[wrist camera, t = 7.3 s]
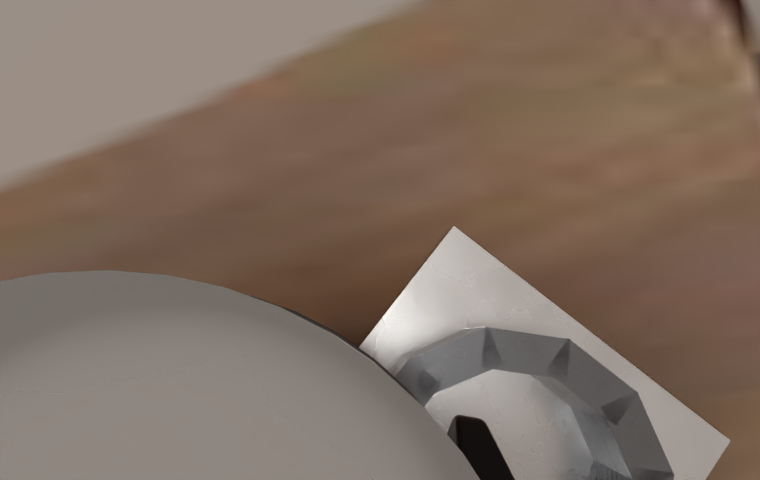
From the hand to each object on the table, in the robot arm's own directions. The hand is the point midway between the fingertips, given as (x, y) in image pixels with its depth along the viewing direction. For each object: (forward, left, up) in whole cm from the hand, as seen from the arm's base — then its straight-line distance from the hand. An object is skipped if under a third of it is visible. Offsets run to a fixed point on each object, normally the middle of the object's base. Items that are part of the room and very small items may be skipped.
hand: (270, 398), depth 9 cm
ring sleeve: (-7, -1, -13) cm, 15 cm away
